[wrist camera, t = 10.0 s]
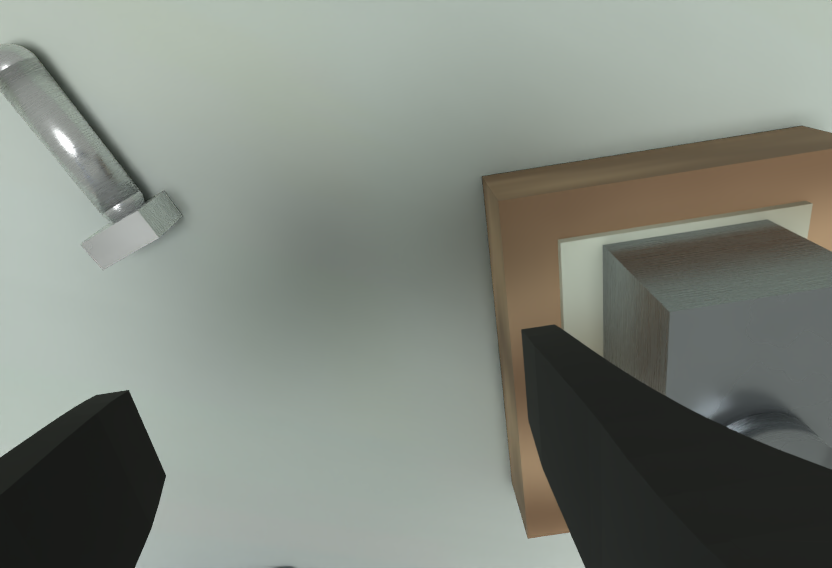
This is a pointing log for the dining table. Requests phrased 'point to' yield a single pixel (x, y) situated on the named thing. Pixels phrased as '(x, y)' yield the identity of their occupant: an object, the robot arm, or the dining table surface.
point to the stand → (618, 222)
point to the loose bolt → (84, 159)
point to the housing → (729, 328)
